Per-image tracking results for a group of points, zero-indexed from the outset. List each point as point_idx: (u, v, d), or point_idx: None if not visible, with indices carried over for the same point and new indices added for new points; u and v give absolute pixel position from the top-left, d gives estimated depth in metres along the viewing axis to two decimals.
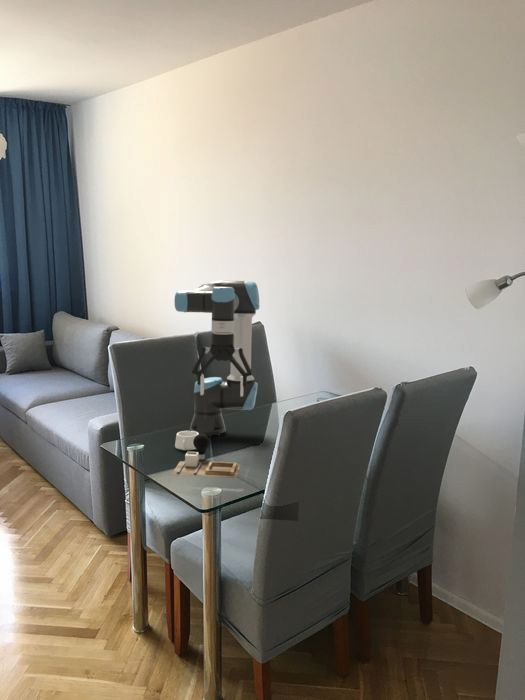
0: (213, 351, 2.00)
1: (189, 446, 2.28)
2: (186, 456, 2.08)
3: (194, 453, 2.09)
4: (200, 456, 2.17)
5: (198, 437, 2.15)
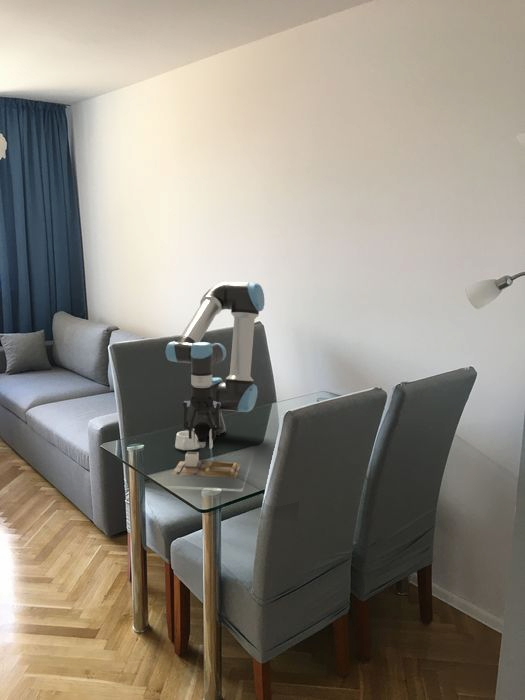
0: (193, 402, 2.14)
1: (189, 446, 2.28)
2: (186, 456, 2.08)
3: (194, 453, 2.09)
4: (201, 443, 2.17)
5: (199, 425, 2.15)
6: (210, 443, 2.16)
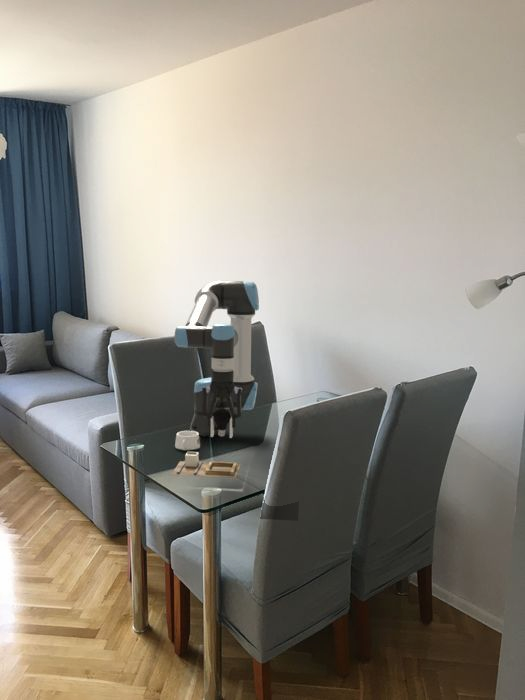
0: (213, 387, 2.01)
1: (189, 446, 2.28)
2: (186, 456, 2.08)
3: (194, 453, 2.09)
4: (221, 432, 2.03)
5: (219, 411, 2.02)
6: (230, 431, 2.03)
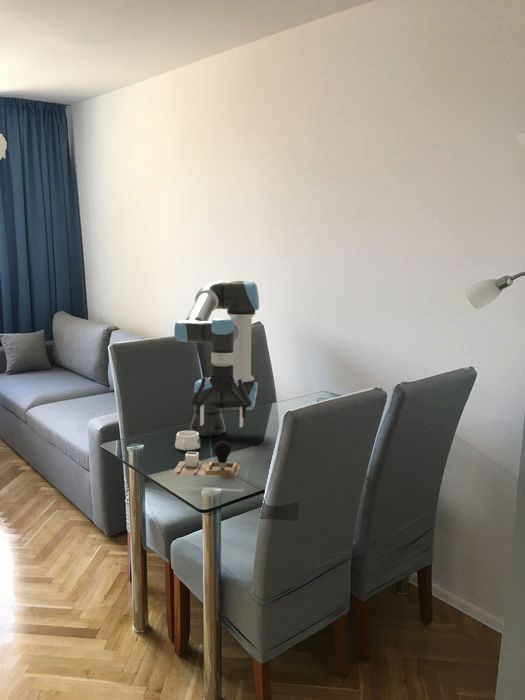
0: (213, 382, 2.01)
1: (189, 446, 2.28)
2: (186, 456, 2.08)
3: (194, 453, 2.09)
4: (221, 464, 2.05)
5: (219, 444, 2.04)
6: (240, 421, 2.02)
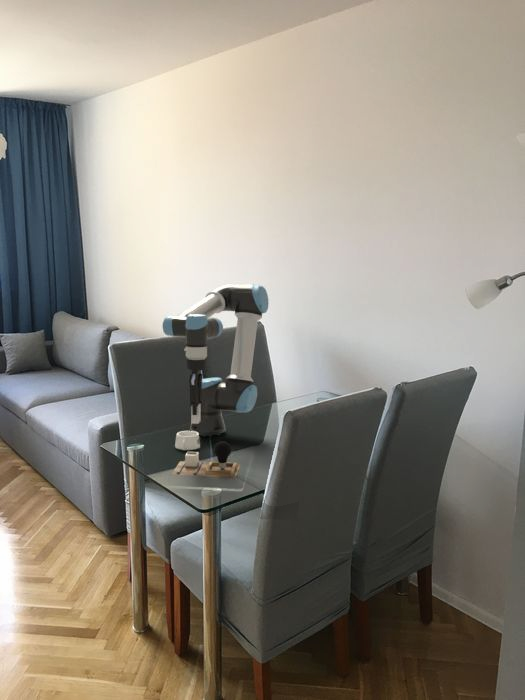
0: None
1: (189, 446, 2.28)
2: (186, 456, 2.08)
3: (194, 453, 2.09)
4: (221, 465, 2.05)
5: (219, 445, 2.04)
6: None
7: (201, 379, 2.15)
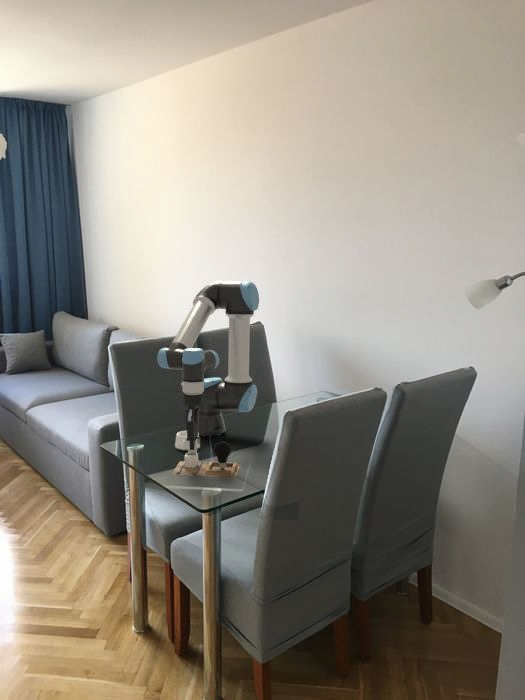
0: None
1: None
2: (185, 457, 2.07)
3: (193, 454, 2.08)
4: (221, 465, 2.05)
5: (219, 445, 2.04)
6: None
7: (198, 414, 2.11)
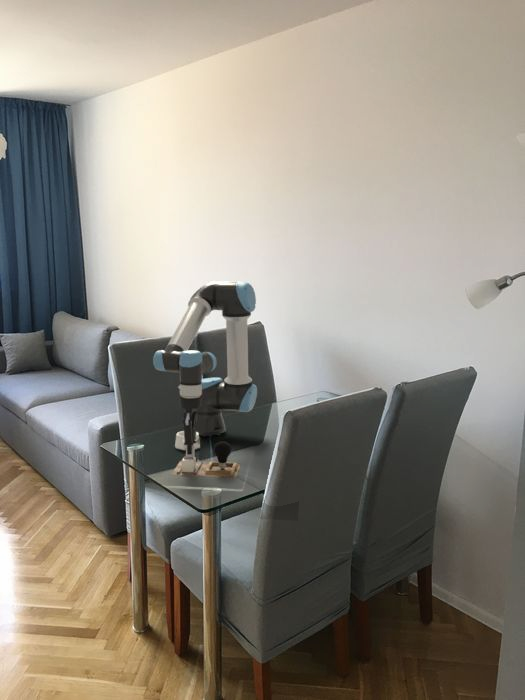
0: None
1: None
2: (183, 461, 2.03)
3: (191, 458, 2.04)
4: (221, 465, 2.05)
5: (219, 445, 2.04)
6: None
7: (196, 417, 2.06)
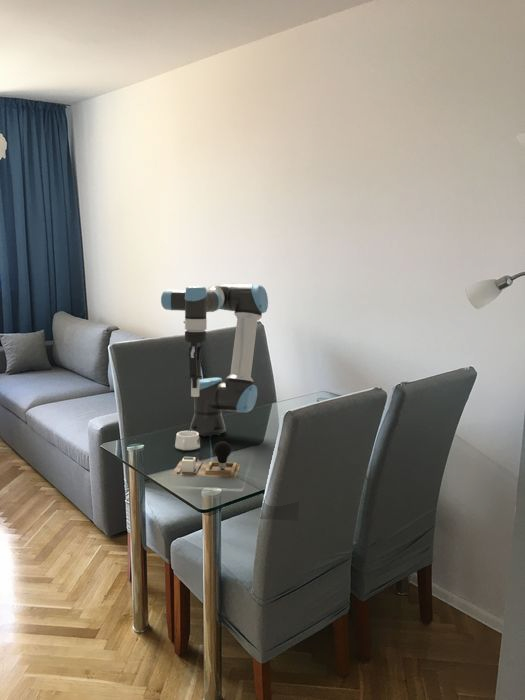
0: None
1: (189, 446, 2.28)
2: (183, 461, 2.03)
3: (191, 458, 2.04)
4: (221, 465, 2.05)
5: (219, 445, 2.04)
6: None
7: (200, 352, 2.12)
